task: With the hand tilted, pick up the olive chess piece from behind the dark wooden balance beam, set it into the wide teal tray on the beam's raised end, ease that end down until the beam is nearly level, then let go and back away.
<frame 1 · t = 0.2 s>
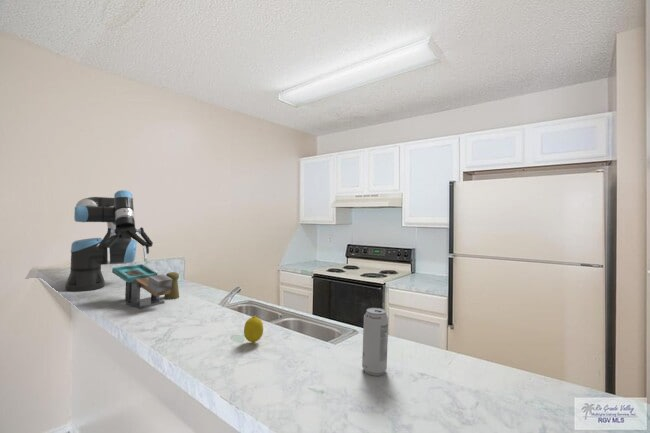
hand: (127, 261, 138), 15 cm above the counter, tool tilted 35°, fingers open, 13 cm apart
beam stand: (145, 303, 129), on the counter
olive chess piece: (171, 298, 140), on the counter
lemon: (253, 344, 94), on the counter
energy drink can: (374, 371, 79), on the counter
balance beam: (144, 277, 130), point 11 cm above the counter, hinge at -12.0°
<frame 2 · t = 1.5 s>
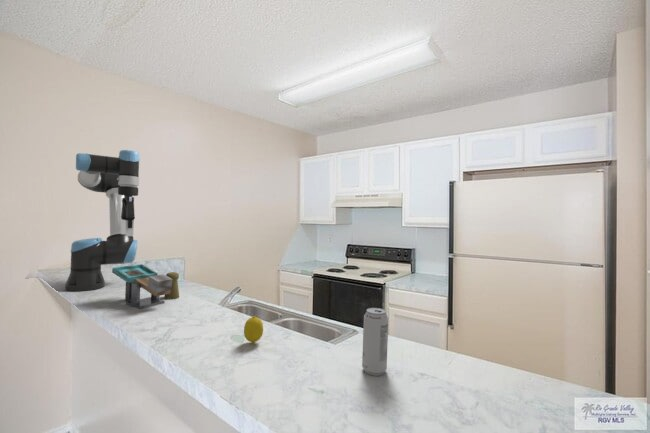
hand: (127, 235, 139), 27 cm above the counter, tool pointing down, fingers open, 13 cm apart
nothing on the counter moved.
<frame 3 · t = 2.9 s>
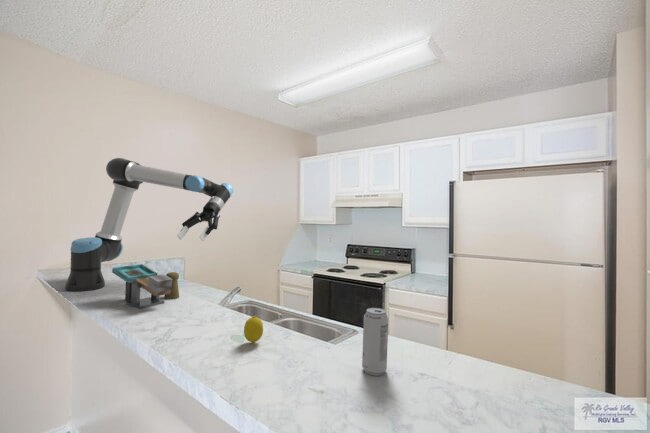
hand: (190, 238, 149), 25 cm above the counter, tool tilted 45°, fingers open, 13 cm apart
nothing on the counter moved.
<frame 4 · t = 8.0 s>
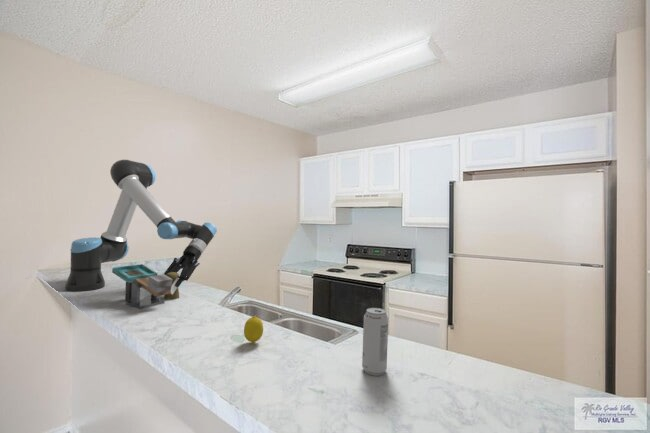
hand: (165, 291, 136), 3 cm above the counter, tool tilted 45°, fingers closed on olive chess piece, 5 cm apart
olive chess piece: (171, 298, 140), on the counter, touching gripper
everything else where it was.
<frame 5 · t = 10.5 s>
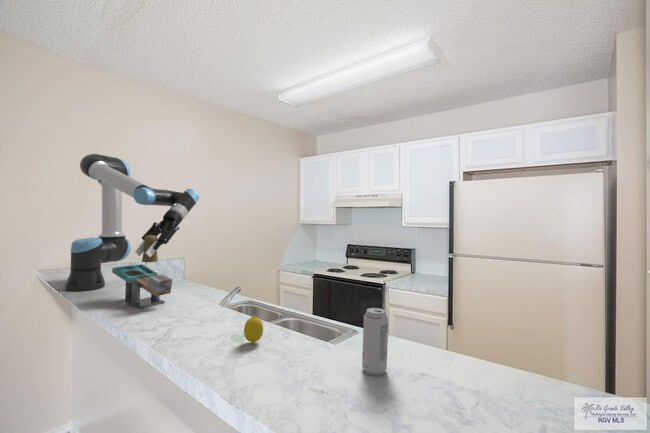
hand: (142, 254, 133), 20 cm above the counter, tool tilted 45°, fingers closed on olive chess piece, 5 cm apart
olive chess piece: (149, 261, 136), point 16 cm above the counter, touching gripper
everything else where it was.
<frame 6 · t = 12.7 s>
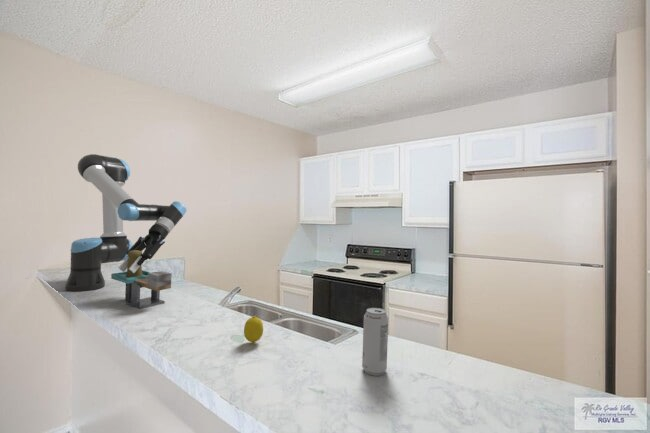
hand: (126, 270, 130), 13 cm above the counter, tool tilted 45°, fingers closed on olive chess piece, 5 cm apart
olive chess piece: (134, 277, 134), point 10 cm above the counter, touching balance beam, gripper
balance beam: (144, 277, 130), point 10 cm above the counter, hinge at -1.9°, touching olive chess piece
everything else where it was.
when the fingers open (13 cm above the counter, at t = 13.5 s): olive chess piece stays where it is, resting on balance beam.
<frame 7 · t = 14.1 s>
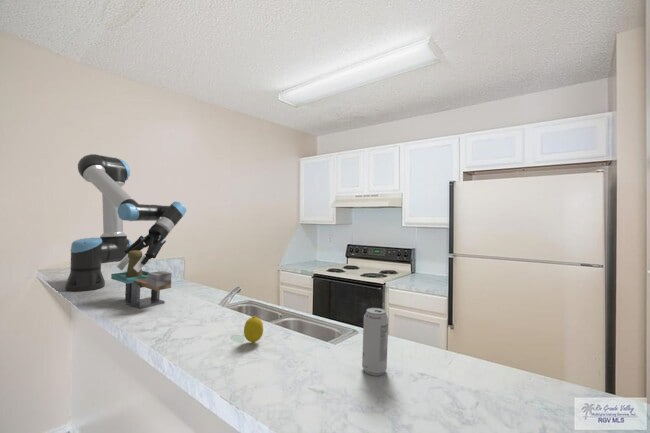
hand: (127, 269, 131), 14 cm above the counter, tool tilted 45°, fingers open, 9 cm apart
olive chess piece: (134, 277, 134), point 10 cm above the counter, touching balance beam
balance beam: (144, 277, 130), point 10 cm above the counter, hinge at -1.4°, touching olive chess piece
everything else where it was.
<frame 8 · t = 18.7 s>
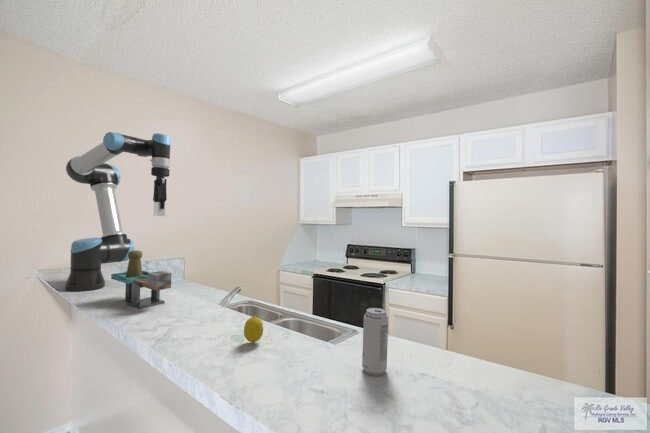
hand: (159, 215, 150), 35 cm above the counter, tool pointing down, fingers open, 9 cm apart
nothing on the counter moved.
at the end: balance beam at -1° (first picture: -12°); olive chess piece inside the target area on the beam stand (0.2 cm from its centre), point 9.6 cm above the beam stand's base; olive chess piece tilted 1° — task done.
